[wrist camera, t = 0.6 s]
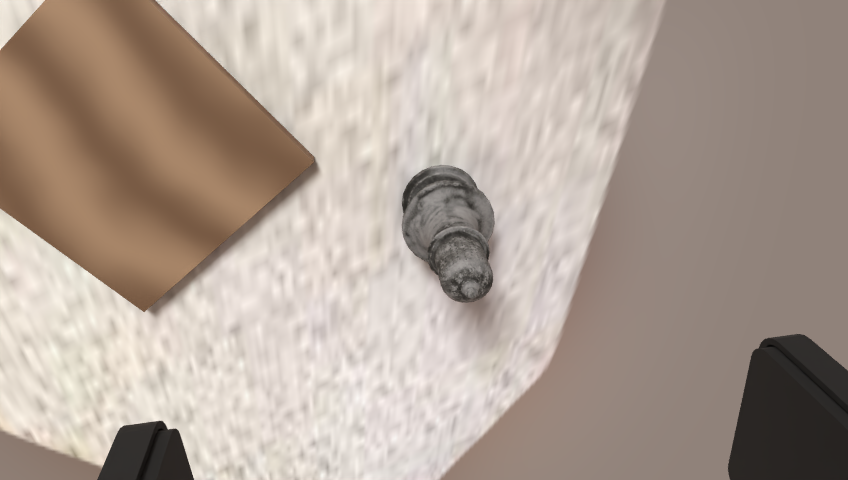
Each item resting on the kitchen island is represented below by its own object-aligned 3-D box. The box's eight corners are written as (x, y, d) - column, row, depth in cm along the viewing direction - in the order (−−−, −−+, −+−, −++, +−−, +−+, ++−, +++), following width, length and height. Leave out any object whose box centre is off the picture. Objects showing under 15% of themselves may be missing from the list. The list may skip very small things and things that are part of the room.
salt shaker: (410, 152, 41) (433, 237, 30) (494, 171, 42) (545, 258, 31) (388, 231, 43) (403, 335, 33) (468, 246, 44) (508, 351, 34)
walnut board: (100, -54, 33) (93, -53, 32) (314, 157, 40) (313, 162, 39) (-77, 140, 37) (-87, 145, 36) (148, 303, 44) (143, 312, 43)
